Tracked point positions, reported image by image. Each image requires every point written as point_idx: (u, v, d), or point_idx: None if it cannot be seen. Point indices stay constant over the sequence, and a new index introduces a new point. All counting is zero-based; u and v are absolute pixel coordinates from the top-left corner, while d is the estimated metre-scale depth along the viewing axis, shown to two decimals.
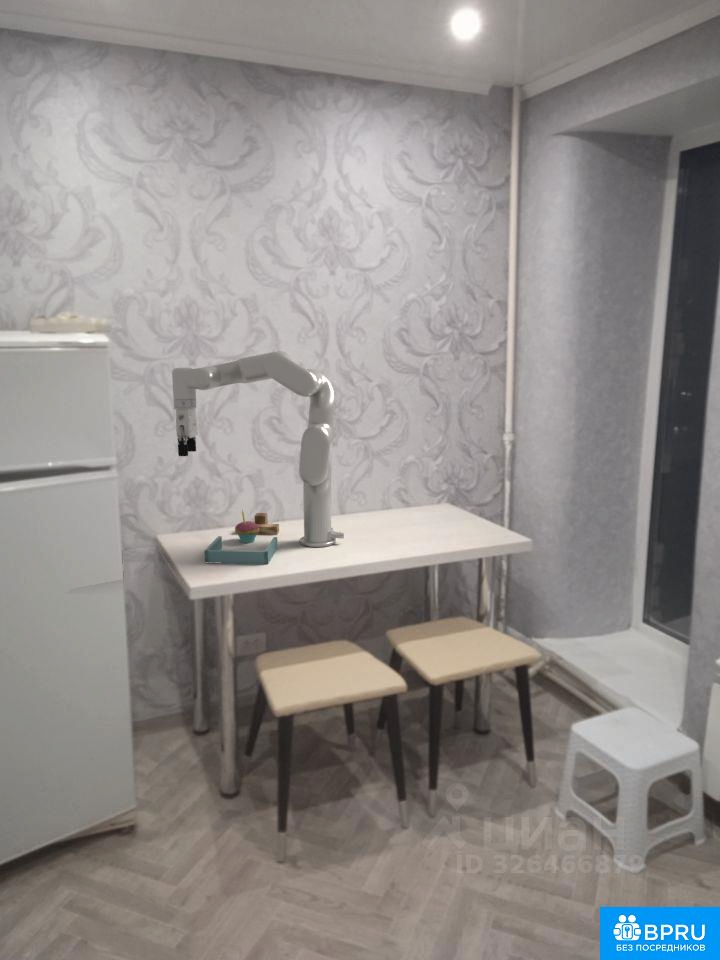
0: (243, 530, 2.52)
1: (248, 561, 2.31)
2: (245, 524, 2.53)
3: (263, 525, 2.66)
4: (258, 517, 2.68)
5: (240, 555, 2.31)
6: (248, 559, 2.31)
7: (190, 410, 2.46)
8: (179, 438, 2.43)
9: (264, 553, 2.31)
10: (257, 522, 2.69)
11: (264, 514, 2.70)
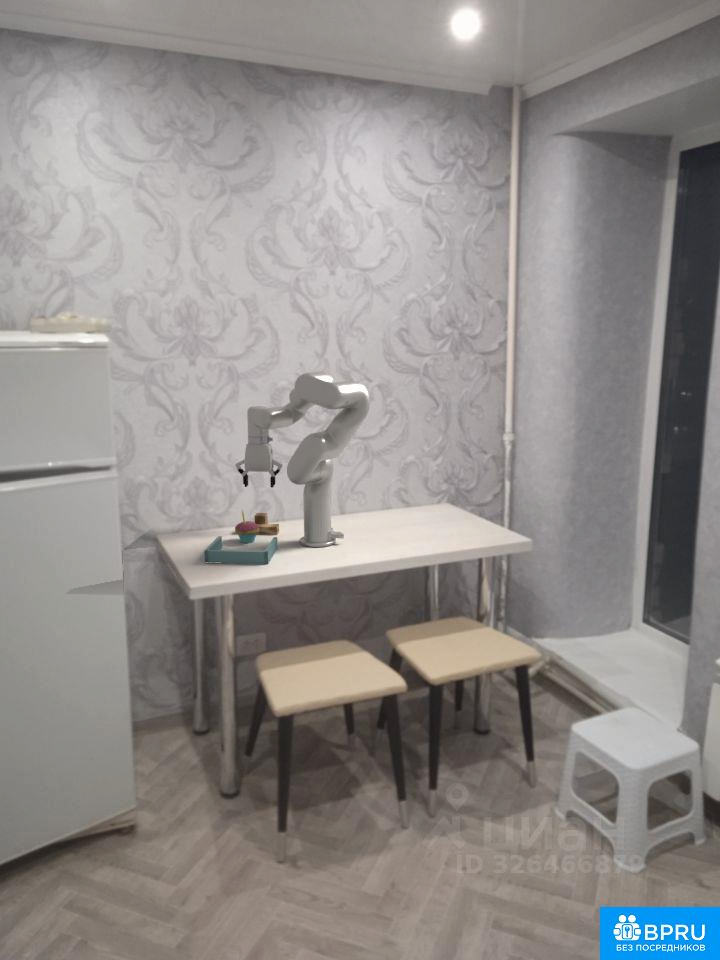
0: (243, 530, 2.52)
1: (248, 561, 2.31)
2: (245, 524, 2.53)
3: (263, 525, 2.66)
4: (258, 517, 2.68)
5: (240, 555, 2.31)
6: (248, 559, 2.31)
7: None
8: (280, 469, 2.66)
9: (264, 553, 2.31)
10: (257, 522, 2.69)
11: (264, 514, 2.70)
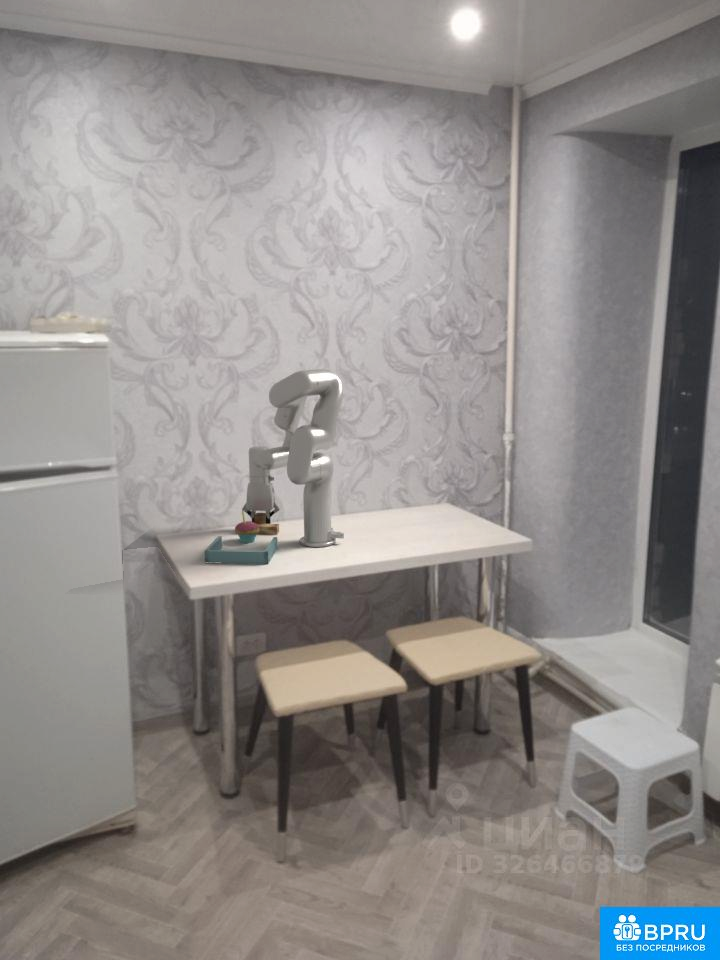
0: (243, 530, 2.52)
1: (248, 561, 2.31)
2: (245, 524, 2.53)
3: (263, 525, 2.66)
4: (258, 517, 2.68)
5: (240, 555, 2.31)
6: (248, 559, 2.31)
7: None
8: (275, 512, 2.69)
9: (264, 553, 2.31)
10: (257, 522, 2.69)
11: (264, 514, 2.70)
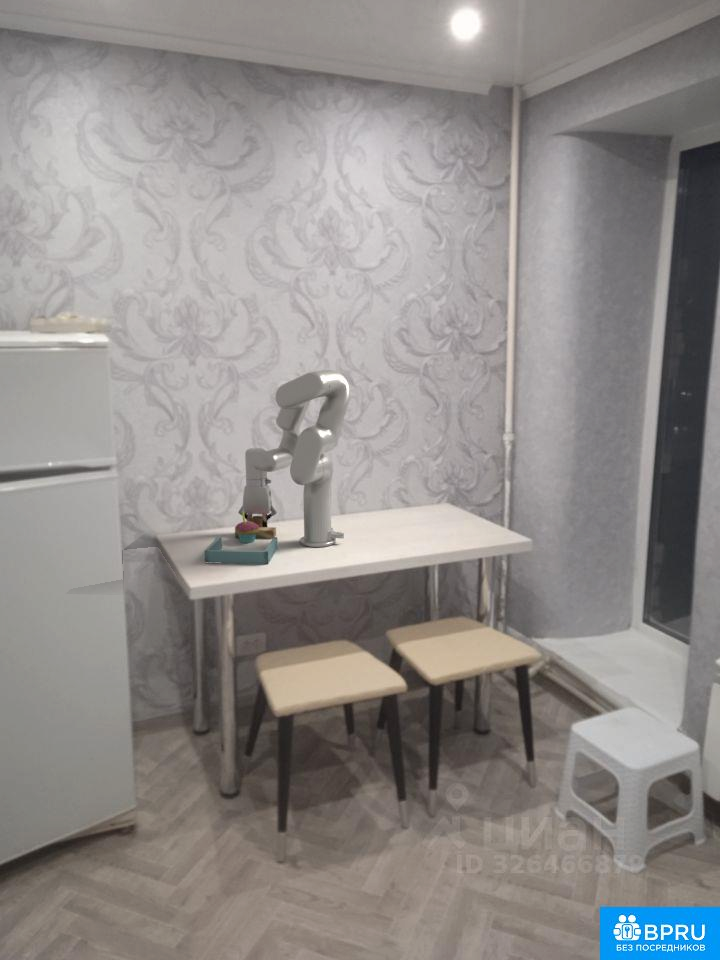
0: (243, 530, 2.52)
1: (248, 561, 2.31)
2: (245, 524, 2.53)
3: (260, 528, 2.61)
4: (255, 520, 2.63)
5: (240, 555, 2.31)
6: (248, 559, 2.31)
7: None
8: None
9: (264, 553, 2.31)
10: None
11: (261, 517, 2.65)
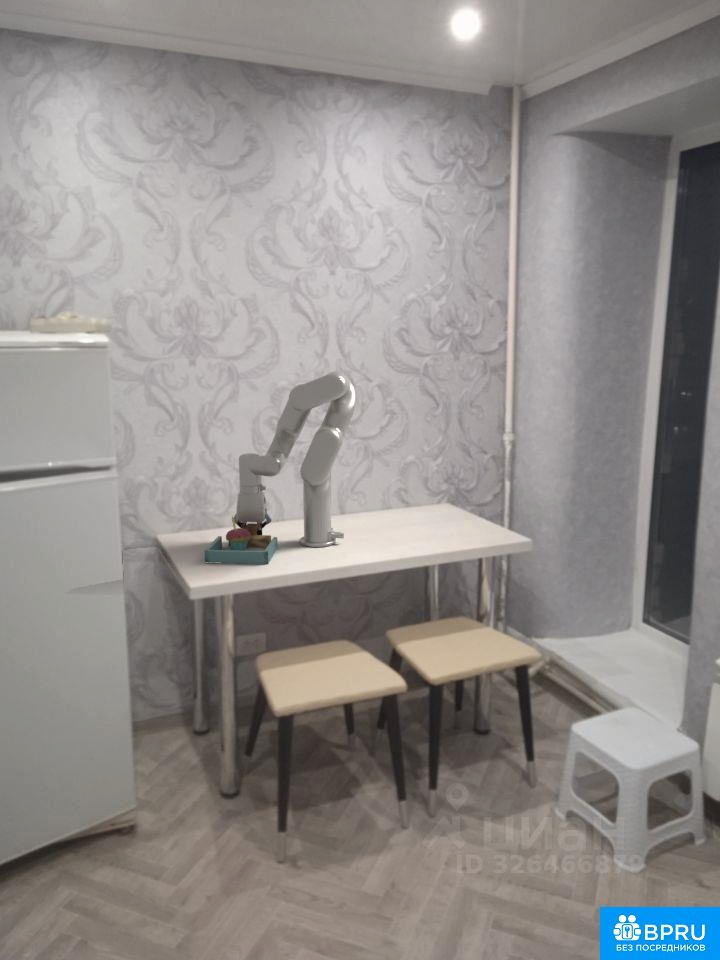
0: (230, 537, 2.43)
1: (248, 561, 2.31)
2: (234, 531, 2.45)
3: (254, 536, 2.51)
4: (249, 528, 2.53)
5: (240, 555, 2.31)
6: (248, 559, 2.31)
7: None
8: None
9: (264, 553, 2.31)
10: None
11: (255, 525, 2.54)
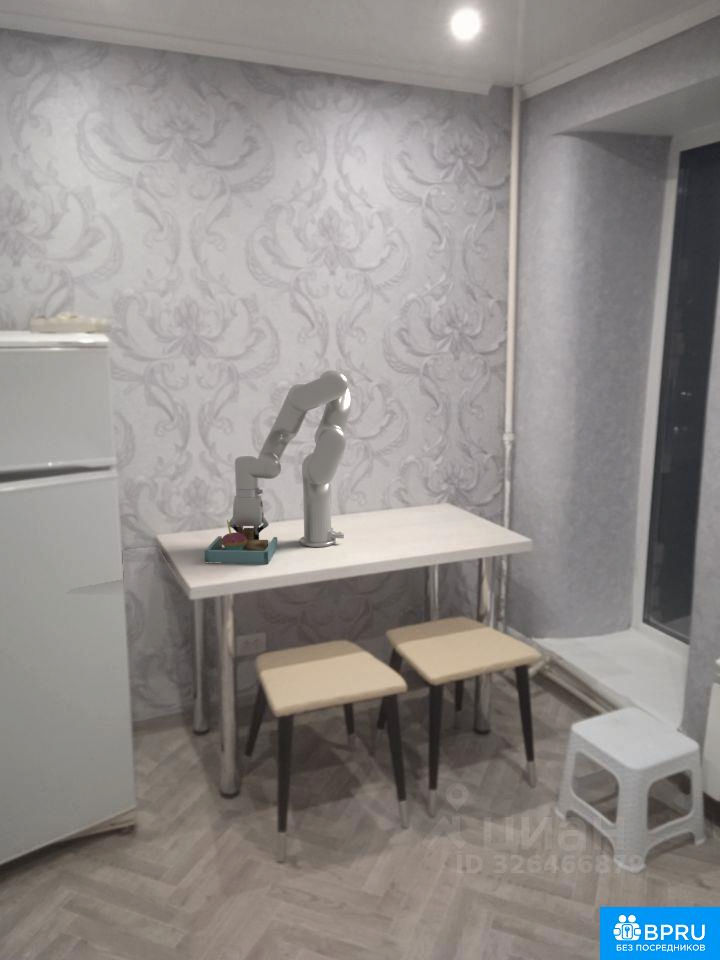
0: (224, 541, 2.38)
1: (248, 561, 2.31)
2: (229, 535, 2.39)
3: (251, 541, 2.46)
4: (245, 532, 2.47)
5: (240, 555, 2.31)
6: (248, 559, 2.31)
7: None
8: None
9: (264, 553, 2.31)
10: None
11: (252, 529, 2.49)
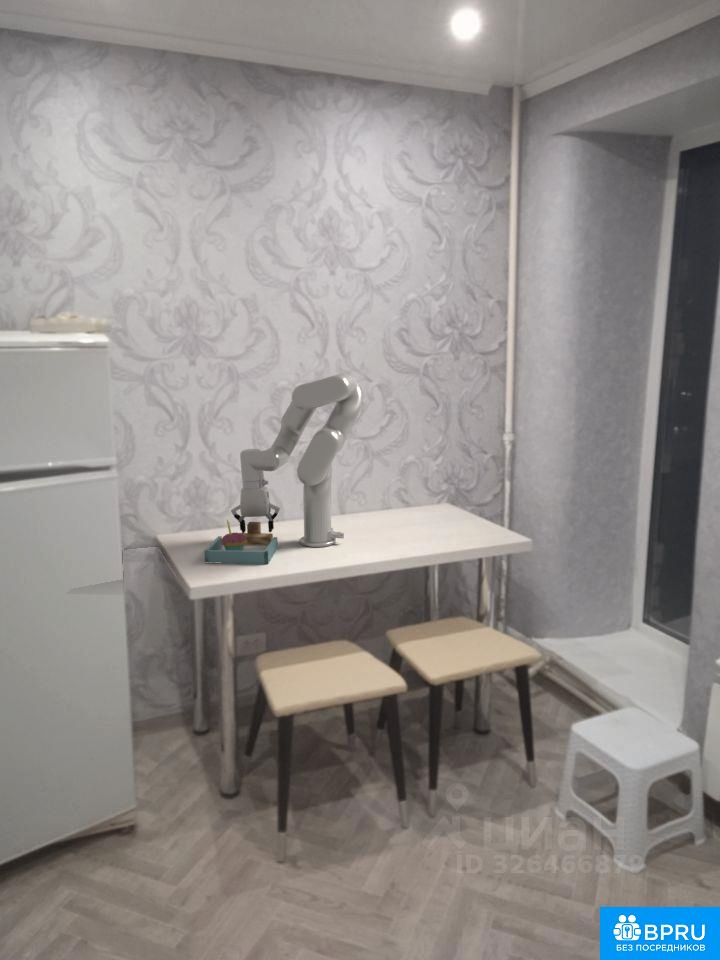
0: (224, 541, 2.38)
1: (248, 561, 2.31)
2: (229, 535, 2.39)
3: (256, 535, 2.54)
4: (251, 526, 2.56)
5: (240, 555, 2.31)
6: (248, 559, 2.31)
7: None
8: (277, 513, 2.56)
9: (264, 553, 2.31)
10: (250, 531, 2.56)
11: (257, 523, 2.57)
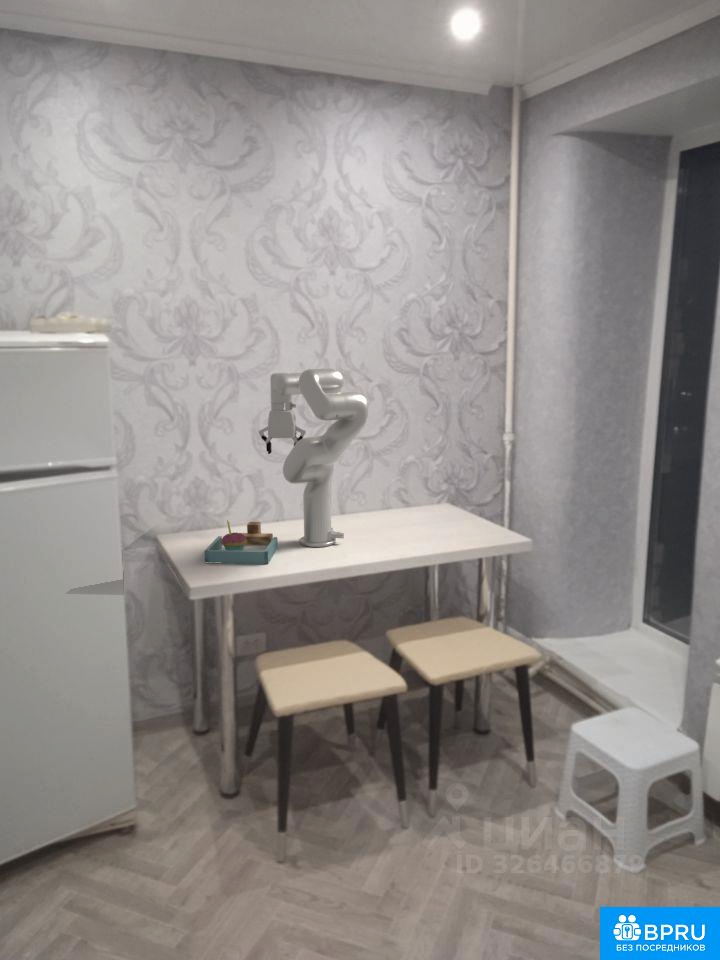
0: (224, 541, 2.38)
1: (248, 561, 2.31)
2: (229, 535, 2.39)
3: (256, 535, 2.54)
4: (251, 526, 2.56)
5: (240, 555, 2.31)
6: (248, 559, 2.31)
7: None
8: (303, 436, 2.67)
9: (264, 553, 2.31)
10: (250, 531, 2.56)
11: (257, 523, 2.57)
